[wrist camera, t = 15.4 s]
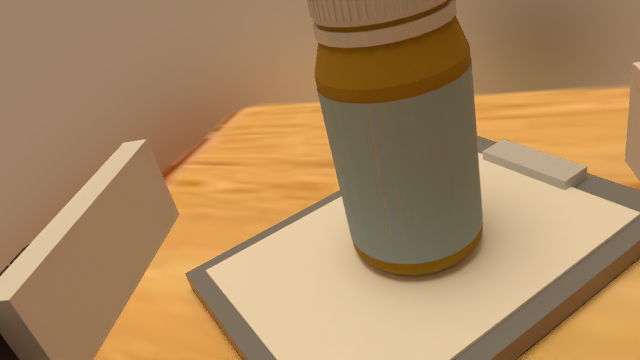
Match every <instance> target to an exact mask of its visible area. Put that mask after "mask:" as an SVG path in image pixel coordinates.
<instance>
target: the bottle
mask: <svg viewBox="0 0 640 360" xmlns="http://www.w3.org/2000/svg"><path fill="white" fill-rule="evenodd" d="M307 3H308V8H309V12H310V16H311V17H312V18H313V21H314V24H313V28H314V33H315V37H316V39H317V41H318V49H317V57H316V66H315V80H316V84H317V91H318V96H319V100H320V104H321V109H322V113H323V117H324V122H325V126H326V130H327V135H328V139H329V143H330V148H331V152H332V156H333V161H334V165H335V169H336V174H337V178H338V182H339V187H340V191H341V195H342V200H343V204H344V208H345V213H346V217H347V221H348V226H349V230H350V234H351V238H352V241H353V245H354V248H355V250H356V251H357V253H358V254H359V256H360V257H361V258H362V259H363V260H365V261H366V262H368V263H369V264H371V265H373V266H374V267H376V268H378V269H380V270H383V271H385V272H389V273H392V274H395V275H400V276H423V275H429V274H435V273H438V272H441V271H443V270H446V269H448V268H451V267H453V266H455V265H456V264H457V263H458V262H460V261H461V260H462V259H464V258H465V257H466V256H467V255H469V254H470V253H471V252H472V251H473V250H474V249H475V248H476V246H477V244H478V243H479V241H480V240H481V237H482V231H483V220H482V219H483V213H482V200H481V186H480V172H479V159H478V145H477V131H476V118H475V104H474V91H473V77H472V65H471V64H472V63H471V57H470V47H469V43H468V41H467V39H466V37H465V35H464V33H463V31H462V29H461V26H460V24H459V22H458V20H457V18H456V16H455V15H456V2H455V0H307Z"/></svg>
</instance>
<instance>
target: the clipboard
mask: <svg viewBox="0 0 640 360" xmlns="http://www.w3.org/2000/svg"><path fill="white" fill-rule="evenodd" d="M477 145H478V159H479V172H480V186H481V200H482V213H483V219H482V220H483V231H482V237H481V240H480V241H479V243H478V244H477V246H476V248H475V249H474V250H473V251H472V252H471V253H470V254H469V255H467V256H466V257H465V258H464V259H462V260H461V261H460V262H458V263H457V264H456V265H455V266H453V267H451V268H448V269H446V270H443V271H441V272H438V273H435V274H429V275H423V276H400V275H395V274H392V273H389V272H385V271H383V270H380V269H378V268H376V267H374V266H373V265H371V264H369V263H368V262H366V261H365V260H363V259H362V258H361V257H360V256H359V254H358V253H357V251H356V250H355V248H354V245H353V241H352V238H351V234H350V230H349V226H348V221H347V217H346V213H345V208H344V204H343V200H342V195H341V191H340V190H339V191H337V192H336V193H334V194H332V195H330V196H328V197H326V198H324V199H323V200H321V201H319V202H317V203H315V204H313V205H311V206H310V207H308V208H306V209H304V210H302V211H300V212H298V213H297V214H295V215H293V216H291V217H289V218H287V219H285V220H284V221H282V222H280V223H278V224H276V225H274V226H272V227H271V228H269V229H267V230H265V231H263V232H261V233H260V234H258V235H256V236H254V237H252V238H250V239H248V240H247V241H245V242H243V243H241V244H239V245H237V246H235V247H234V248H232V249H230V250H228V251H226V252H224V253H222V254H221V255H219V256H217V257H215V258H213V259H211V260H209V261H208V262H206V263H204V264H202V265H200V266H198V267H196V268H195V269H193V270H191V271H189V272H187V273H185V274H186V276H187V279H188V281H189V283H190V285H191V288H192V289H193V291H194V292H195V294H196V295H197V296H198V298H199V299H200V301H201V302H202V303H203V305H204V306H205V308H206V309H207V310H208V312H209V313H210V315H211V316H212V318H213V319H214V320H215V322H216V323H217V325H218V326H219V327H220V329H221V330H222V332H223V333H224V334H225V336H226V337H227V339H228V340H229V341H230V343H231V344H232V346H233V347H234V348H235V350H236V351H237V353H238V354H239V355H240V357H241V358H242V360H516V359H517V358H518V357H519V356H521V355H522V354H523V353H524V352H525V351H527V350H528V349H529V348H530V347H531V346H533V345H534V344H535V343H536V342H538V341H539V340H540V339H541V338H542V337H544V336H545V335H546V334H547V333H549V332H550V331H551V330H552V329H553V328H555V327H556V326H557V325H558V324H560V323H561V322H562V321H563V320H564V319H566V318H567V317H568V316H569V315H570V314H572V313H573V312H574V311H575V310H577V309H578V308H579V307H580V306H581V305H583V304H584V303H585V302H586V301H588V300H589V299H590V298H591V297H592V296H594V295H595V294H596V293H597V292H599V291H600V290H601V289H602V288H603V287H605V286H606V285H607V284H608V283H609V282H611V281H612V280H613V279H614V278H616V277H617V276H618V275H619V274H620V273H622V272H623V271H624V270H625V269H627V268H628V267H629V266H630V265H631V264H633V263H634V262H635V261H636V260H638V259H639V258H640V191H639V190H636V189H633V188H630V187H627V186H624V185H621V184H618V183H615V182H612V181H609V180H606V179H603V178H600V177H597V176H594V175H592V174H589V173H587V166H584V165H581V164H578V163H575V162H572V161H569V160H566V159H563V158H560V157H557V156H554V155H551V154H547V153H544V152H541V151H538V150H535V149H532V148H529V147H526V146H523V145H520V144H517V143H514V142H511V141H508V140H505V139H503V140H501V141H499V142H494V141H491V140H488V139H485V138H482V137H479V136H477Z"/></svg>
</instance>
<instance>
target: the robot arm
mask: <svg viewBox="0 0 640 360" xmlns="http://www.w3.org/2000/svg"><path fill="white" fill-rule="evenodd" d="M625 161H626V163H627V164H628V166H629V167H630V168H631V170H632V171H633V172H634V174H635V175H636V176H637V178H638V179H639V181H640V62H636V63H633V64H632V78H631V89H630V102H629V115H628V128H627V141H626V154H625ZM178 216H179V213H178V211H177V208H176V206H175V204H174V201H173V199H172V197H171V194H170V192H169V190H168V187H167V185H166V183H165V181H164V178H163V176H162V174H161V171H160V169H159V167H158V165H157V162H156V160H155V158H154V155H153V153H152V150H151V148H150V146H149V144H148V141H147V139H145V140H139V141H132V142H127V143H123V144H122V145H121V146H120V147H119V148H118V150H117V151H116V152H115V153H114V154H113V155H112V156H111V157H110V158H109V159H108V160H107V161H106V163H105V164H104V165H103V166H102V167H101V168H100V169H99V170H98V171H97V172H96V174H94V176H93V177H92V178H91V179H90V180H89V181H88V182H87V183H86V184H85V185H84V186H83V188H82V189H81V190H80V191H79V192H78V193H77V194H76V195H75V196H74V197H73V198H72V199H71V200H70V201H69V203H68V204H67V205H66V206H65V207H64V208H63V209H62V210H61V211H60V212H59V213H58V215H57V216H56V217H55V218H54V219H53V220H52V221H51V222H50V223H49V224H48V225H47V226H46V227H45V229H44V230H43V231H42V232H41V233H40V234H39V235H38V236H37V237H36V239H34V241H33V242H32V243H30V244H29V245H27V246H26V247H25V248H23V249H22V250H21V252H20V253H19V254H18V255H17V256H16V257H15V258H14V259H13V260H12V261H11V262H10V265H9V266H7V267H6V268H5V269H4V270H3V271H2V272H1V273H0V360H93V359H94V358H95V356H96V354H97V353H98V351H99V349H100V348H101V346H102V344H103V342H104V341H105V339H106V337H107V336H108V334H109V332H110V331H111V329H112V327H113V326H114V324H115V322H116V321H117V319H118V317H119V315H120V314H121V312H122V310H123V309H124V307H125V305H126V304H127V302H128V300H129V299H130V297H131V295H132V293H133V292H134V290H135V288H136V287H137V285H138V283H139V282H140V280H141V278H142V277H143V275H144V273H145V272H146V270H147V268H148V266H149V265H150V263H151V261H152V260H153V258H154V256H155V255H156V253H157V251H158V250H159V248H160V246H161V245H162V243H163V241H164V239H165V238H166V236H167V234H168V233H169V231H170V229H171V228H172V226H173V224H174V223H175V221H176V219H177V217H178Z"/></svg>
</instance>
